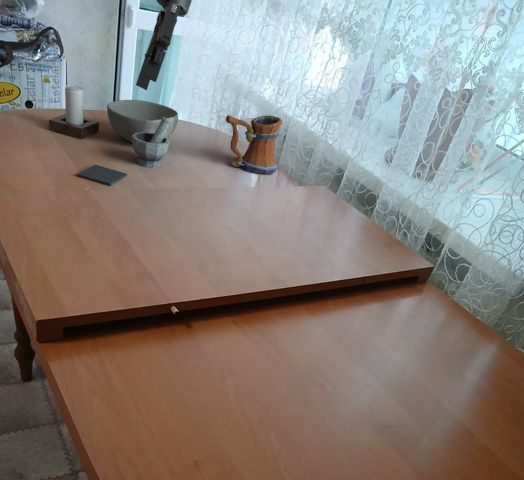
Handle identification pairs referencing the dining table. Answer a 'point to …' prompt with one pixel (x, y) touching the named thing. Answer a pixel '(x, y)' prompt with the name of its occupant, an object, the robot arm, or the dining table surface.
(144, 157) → the mortar and pestle
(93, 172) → the mat
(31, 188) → the dining table surface
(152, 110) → the bowl
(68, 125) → the frame
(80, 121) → the beverage can
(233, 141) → the mug
